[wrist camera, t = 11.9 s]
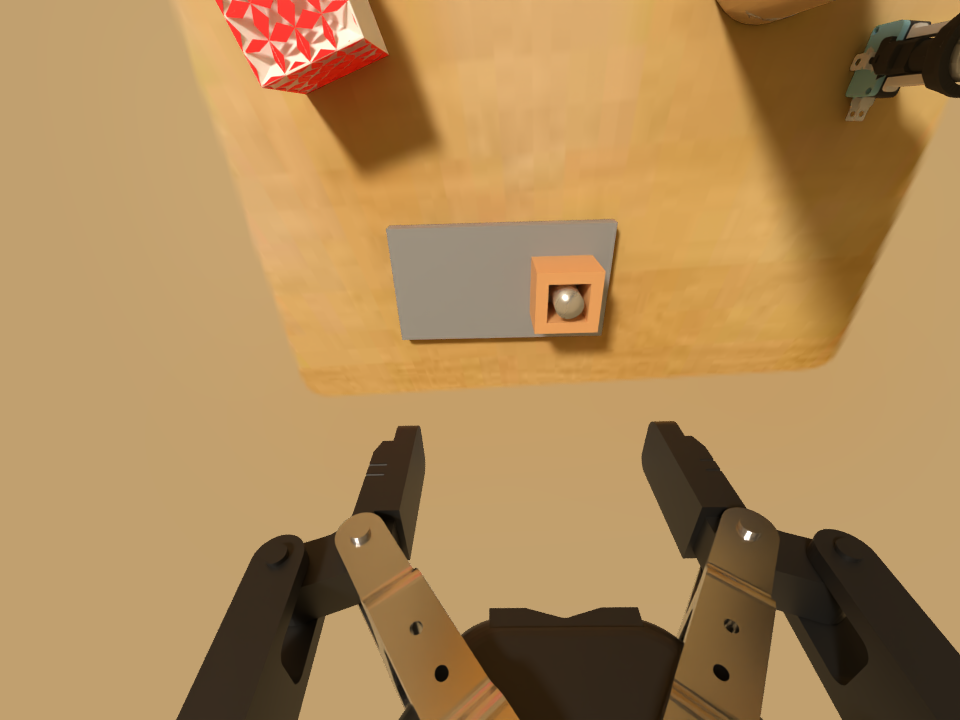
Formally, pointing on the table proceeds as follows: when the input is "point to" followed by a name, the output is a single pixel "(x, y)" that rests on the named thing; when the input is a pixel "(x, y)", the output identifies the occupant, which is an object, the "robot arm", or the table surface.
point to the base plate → (484, 274)
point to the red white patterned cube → (304, 40)
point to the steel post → (566, 300)
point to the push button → (906, 62)
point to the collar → (559, 273)
